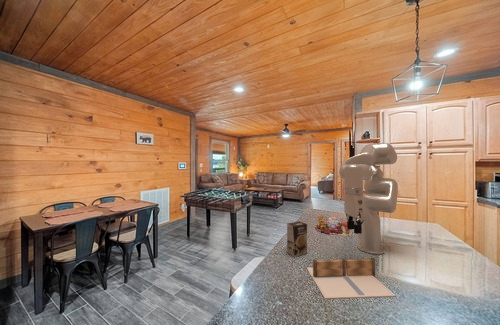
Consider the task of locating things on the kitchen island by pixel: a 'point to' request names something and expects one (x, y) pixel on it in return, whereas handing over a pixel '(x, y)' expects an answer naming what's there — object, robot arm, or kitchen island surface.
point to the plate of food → (332, 226)
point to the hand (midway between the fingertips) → (354, 230)
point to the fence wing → (360, 267)
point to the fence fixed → (329, 268)
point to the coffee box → (297, 238)
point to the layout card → (350, 286)
